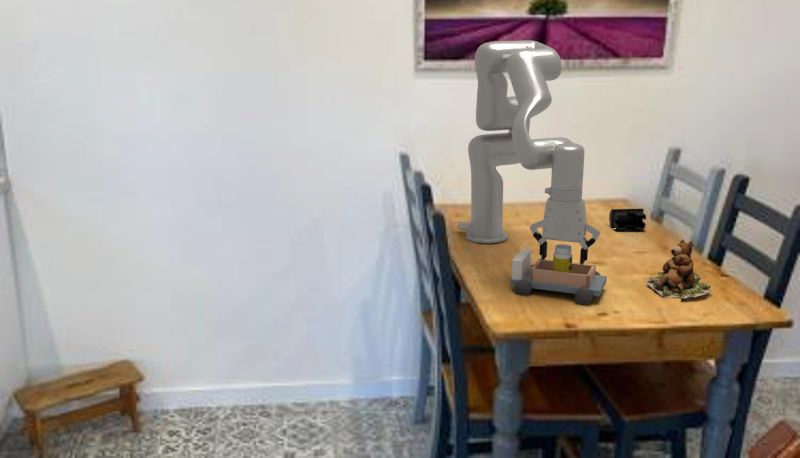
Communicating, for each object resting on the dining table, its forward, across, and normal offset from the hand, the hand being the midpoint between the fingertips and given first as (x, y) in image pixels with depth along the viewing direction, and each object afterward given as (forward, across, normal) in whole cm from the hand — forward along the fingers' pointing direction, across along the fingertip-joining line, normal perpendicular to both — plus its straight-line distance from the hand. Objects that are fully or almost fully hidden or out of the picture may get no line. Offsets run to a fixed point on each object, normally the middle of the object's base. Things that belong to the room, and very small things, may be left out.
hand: (563, 260), depth 193 cm
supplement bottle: (+5, 0, 0) cm, 5 cm away
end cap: (+9, +8, +60) cm, 62 cm away
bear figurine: (+9, +27, +12) cm, 31 cm away
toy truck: (+8, -1, 0) cm, 8 cm away
